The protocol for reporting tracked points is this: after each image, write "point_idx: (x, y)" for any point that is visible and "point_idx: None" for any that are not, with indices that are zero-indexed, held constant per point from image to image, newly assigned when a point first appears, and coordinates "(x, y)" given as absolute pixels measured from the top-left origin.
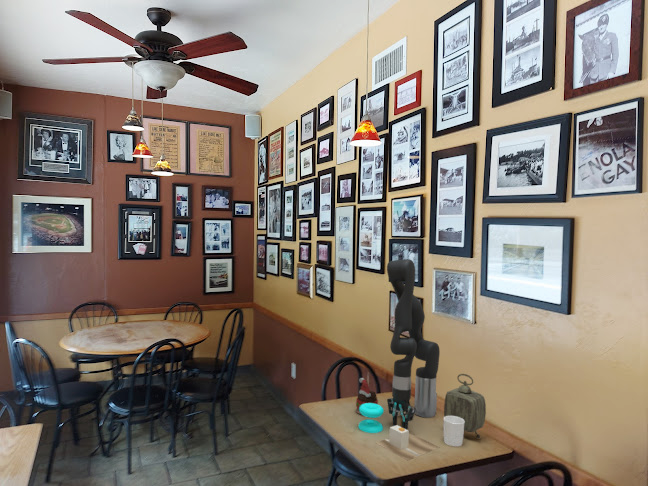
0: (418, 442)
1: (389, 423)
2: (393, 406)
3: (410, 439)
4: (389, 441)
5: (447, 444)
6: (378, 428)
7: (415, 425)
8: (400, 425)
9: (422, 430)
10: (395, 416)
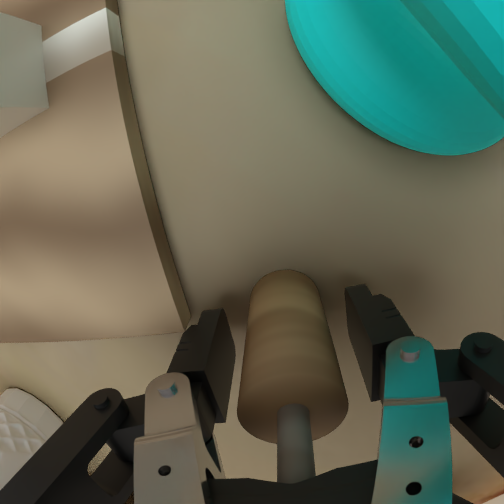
0: (6, 278)
1: (455, 307)
2: (496, 454)
3: (44, 253)
4: (26, 24)
5: (7, 396)
6: (306, 8)
7: (319, 444)
8: (251, 325)
9: (231, 440)
10: (381, 369)
